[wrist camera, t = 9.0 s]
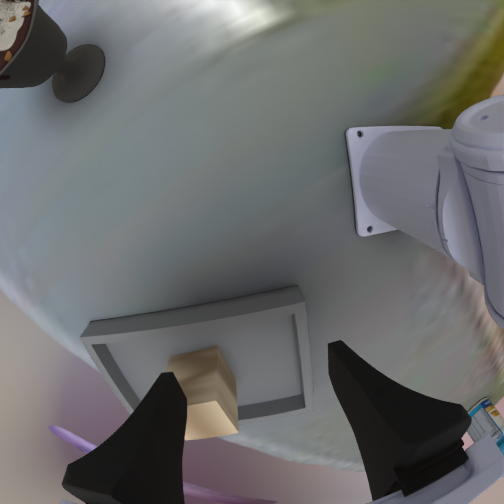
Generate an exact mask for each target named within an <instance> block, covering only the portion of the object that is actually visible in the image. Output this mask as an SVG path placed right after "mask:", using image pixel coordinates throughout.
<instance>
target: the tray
mask: <svg viewBox="0 0 504 504" xmlns="http://www.w3.org/2000/svg"><path fill="white" fill-rule="evenodd" d="M80 339H81V341H82V342H83V344H84V346H85V348H86V349H87V351H88V353H89V355H90V356H91V358H92V360H93V361H94V363H95V364H96V366H97V368H98V369H99V371H100V372H101V374H102V376H103V377H104V378H105V380H106V381H107V383H108V385H109V386H110V388H111V389H112V390H113V392H114V393H115V395H116V396H117V398H118V399H119V400H120V402H121V403H122V404H123V406H124V407H125V408H126V410H127V411H128V412H129V414H130V415H131V414H132V413H133V412H134V410H135V409H136V408H137V406H138V405H139V404H140V402H141V401H142V400H143V398H144V397H145V395H146V394H147V392H148V391H149V390H150V388H151V387H152V385H153V384H154V382H155V381H156V379H157V378H158V376H159V375H160V374H161V373H163V372H166V368H167V364H168V360H169V357H170V356H175V355H179V354H184V353H188V352H192V351H197V350H201V349H205V348H209V347H213V346H217V345H218V346H219V348H220V350H221V352H222V354H223V356H224V358H225V360H226V362H227V364H228V366H229V368H230V370H231V372H232V373H233V375H234V377H235V379H236V389H237V408H238V425H241V424H248V423H255V422H261V421H267V420H272V419H278V418H283V417H287V416H292V415H297V414H301V413H305V412H309V411H313V410H314V399H313V383H312V369H311V356H310V344H309V333H308V323H307V313H306V303H305V300H304V298H303V296H302V294H301V292H300V290H299V288H298V286H297V285H296V286H292V287H287V288H283V289H278V290H273V291H268V292H263V293H259V294H254V295H249V296H243V297H238V298H233V299H228V300H223V301H217V302H212V303H206V304H201V305H195V306H189V307H183V308H177V309H171V310H165V311H159V312H153V313H146V314H140V315H133V316H126V317H119V318H112V319H104V320H97V321H91V322H90V323H89V325H88V326H87V328H86V329H85V330H84V332H83V333H82V335H81V336H80Z"/></svg>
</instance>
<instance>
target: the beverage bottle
mask: <svg viewBox="0 0 504 504" xmlns="http://www.w3.org/2000/svg"><path fill="white" fill-rule="evenodd" d="M468 414H469V415H470V417H471V418H472V422H471V425H470V427H469V428H468V430H467V432H468V434H469V435H470V437H471V439H472V440H473V441H474V443H475V442H476V441H478V440H479V439H481V438H482V437H483V436H484V435H486V434H490V436H491V437H492V439H493V440H494V442H495V443H496V445H497V446H498V448H499V449H500V451H501V452H502V454H503V456H504V418H503V417H502V416H501V414H500V413H499V412H498V410H497V409H496V408H495V407H494V405H493V404H492V403H491V401H490V400H489V399H488V398H484V399H482V400H480V401H479V402H478V403H477V404H475V405H474V406H473V407H472V408H471V409H470V410H469V411H468ZM502 477H503V476H502Z"/></svg>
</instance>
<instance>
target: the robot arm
mask: <svg viewBox="0 0 504 504" xmlns="http://www.w3.org/2000/svg"><path fill="white" fill-rule="evenodd" d="M358 131H359V132H360V133H361V137H360V138H359V137H358V136H357V132H358ZM346 140H347V147H348V154H349V161H350V168H351V176H352V185H353V195H354V205H355V217H356V231H357V233H358V235H360V236H362V237H366V236H370V235H375V234H380V233H384V232H389V231H394V230H400V231H402V232H404V233H406V234H407V235H409V236H411V237H413V238H415V239H417V240H418V241H420V242H422V243H424V244H426V245H427V246H429V247H431V248H433V249H434V250H436V251H438V252H439V253H441V254H443V255H445V256H446V257H448V258H450V259H451V260H453V261H455V262H456V263H458V264H459V265H461V266H462V267H464V268H466V269H468V271H469V274H470V276H471V277H472V278H474V279H475V280H477V281H478V282H480V283H481V284H483V285H484V296H485V302H486V306H487V309H488V311H489V314H490V315H491V317H492V318H493V320H494V321H495V322H496V323H497V324H498V326H500V327H501V328H502V329H504V95H500V96H496V97H492V98H489V99H486V100H483V101H481V102H479V103H476V104H474V105H472V106H471V107H469V108H467V109H466V110H464V111H463V112H462V113H461V114H460V115H459V116H458V117H457V119H456V121H455V124H454V126H453V128H452V129H442V128H441V127H432V126H375V127H354V128H349V129H347V131H346ZM369 226H370V227H371V229H370V230H369V231H367V228H368V227H369ZM328 369H329V376H330V379H331V383H332V385H333V388H334V391H335V393H336V396H337V398H338V400H339V402H340V404H341V406H342V408H343V410H344V412H345V414H346V416H347V419H348V421H349V423H350V425H351V427H352V429H353V432H354V434H355V437H356V440H357V443H358V447H359V450H360V453H361V456H362V460H363V463H364V467H365V470H366V474H367V478H368V482H369V486H370V490H371V495H372V500H373V501H372V502H370V503H367V504H469V503H470V502H471V501H473V500H474V499H475V498H477V497H478V496H479V495H481V494H482V493H483V492H484V491H486V490H487V489H488V488H489V487H491V486H492V485H493V484H494V483H496V482H497V481H498V480H499V479H500V478H501V477H502V476H504V456H503V454H502V452H501V451H500V449H499V448H498V446H497V445H496V443H495V442H494V440H493V439H492V437H491V436H490V434H486V435H484V436H483V437H482V438H481V439H479V440H478V441H476V442H475V443H474V444H472V445H471V446H470V447H469V448H467V449H466V450H465V451H464V449H463V448H462V446H463V445H464V442H463V441H462V439H461V438H462V436H463V435H464V434H465V432H466V431H467V430H468V428H469V427H470V425H471V422H472V418H471V417H470V415H469V414H468V412H467V411H466V410H465V409H464V407H463V406H462V405H461V404H456V403H451V402H446V401H442V400H438V399H435V398H431V397H428V396H425V395H423V394H420V393H418V392H415V391H413V390H410V389H408V388H406V387H404V386H402V385H400V384H399V383H397V382H395V381H393V380H392V379H390V378H388V377H387V376H385V375H384V374H382V373H381V372H379V371H378V370H376V369H375V368H374V367H372V366H371V365H370V364H368V363H367V362H366V361H365V360H363V359H362V358H361V357H360V356H358V355H357V354H356V353H355V352H354V351H353V350H352V349H350V348H349V347H348V346H347V345H346V344H345V343H344V342H343V341H341V340H339V341H335V342H332V343H328ZM186 423H187V397H186V396H185V394H184V392H183V390H182V388H181V386H180V384H179V382H178V381H177V379H176V377H175V375H174V373H173V372H163V373H161V374H160V375H159V376H158V378H157V379H156V381H155V382H154V384H153V385H152V387H151V388H150V390H149V391H148V392H147V394H146V395H145V397H144V398H143V400H142V401H141V402H140V404H139V405H138V406H137V408H136V409H135V410H134V412H133V413H132V414H131V415H130V417H129V418H128V419H127V420H126V421H125V423H124V424H123V425H122V426H121V427H120V428H119V429H118V430H117V431H116V432H115V433H114V434H113V435H111V436H110V437H109V438H108V439H107V440H106V441H104V443H102V444H101V445H100V446H98V447H97V448H96V449H94V450H93V451H91V452H90V453H88V454H87V455H85V456H83V457H82V458H80V459H78V460H76V461H74V462H73V463H71V464H68V466H67V469H66V472H65V476H64V479H63V482H62V486H63V488H64V489H65V490H67V491H68V492H70V493H71V494H72V495H74V496H75V497H77V498H79V499H80V500H82V501H83V502H85V503H86V504H185V503H184V494H183V480H182V456H183V455H182V454H183V446H184V439H185V431H186ZM60 504H76V503H73V502H70V501H67V500H64V499H62V500H61V503H60Z"/></svg>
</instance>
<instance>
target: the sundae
mask: <svg viewBox="0 0 504 504" xmlns="http://www.w3.org/2000/svg"><path fill="white" fill-rule="evenodd" d="M38 2H39V0H0V88H25V87H34V86H37V85H40V84H42V83H43V82H45V81H46V80H47V79H49V78H50V77H51V76H52V75H53V74H54V76H53V82H52V85H53V92H54V94H55V96H56V97H57V98H58V99H59V100H61V101H63V102H66V103H67V102H74V101H77V100H79V99H81V98H83V97H85V96H86V95H87V94H88V93H89V92H90V91H91V90H92V89H93V88H94V87H95V86H96V85H97V83H98V81H99V80H100V78H101V76H102V73H103V70H104V65H105V58H104V54H103V52H102V50H101V49H100V48H99V47H98V46H96V45H92V44H86V45H81V46H78V47H77V48H75V49H73V50H72V51H70V52H69V53H68V54H66V49H67V38H66V36H65V34H64V33H63V32H62V30H61V29H60V27H59V26H58V25H57V24H56V23H55V22H54V21H53V20H52V19H51V18H50V17H49V16H48V15H47V14H46V13H45V12H44V11H43V10H42V8H41V7H40V6H39V5H38ZM65 54H66V55H65Z"/></svg>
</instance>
